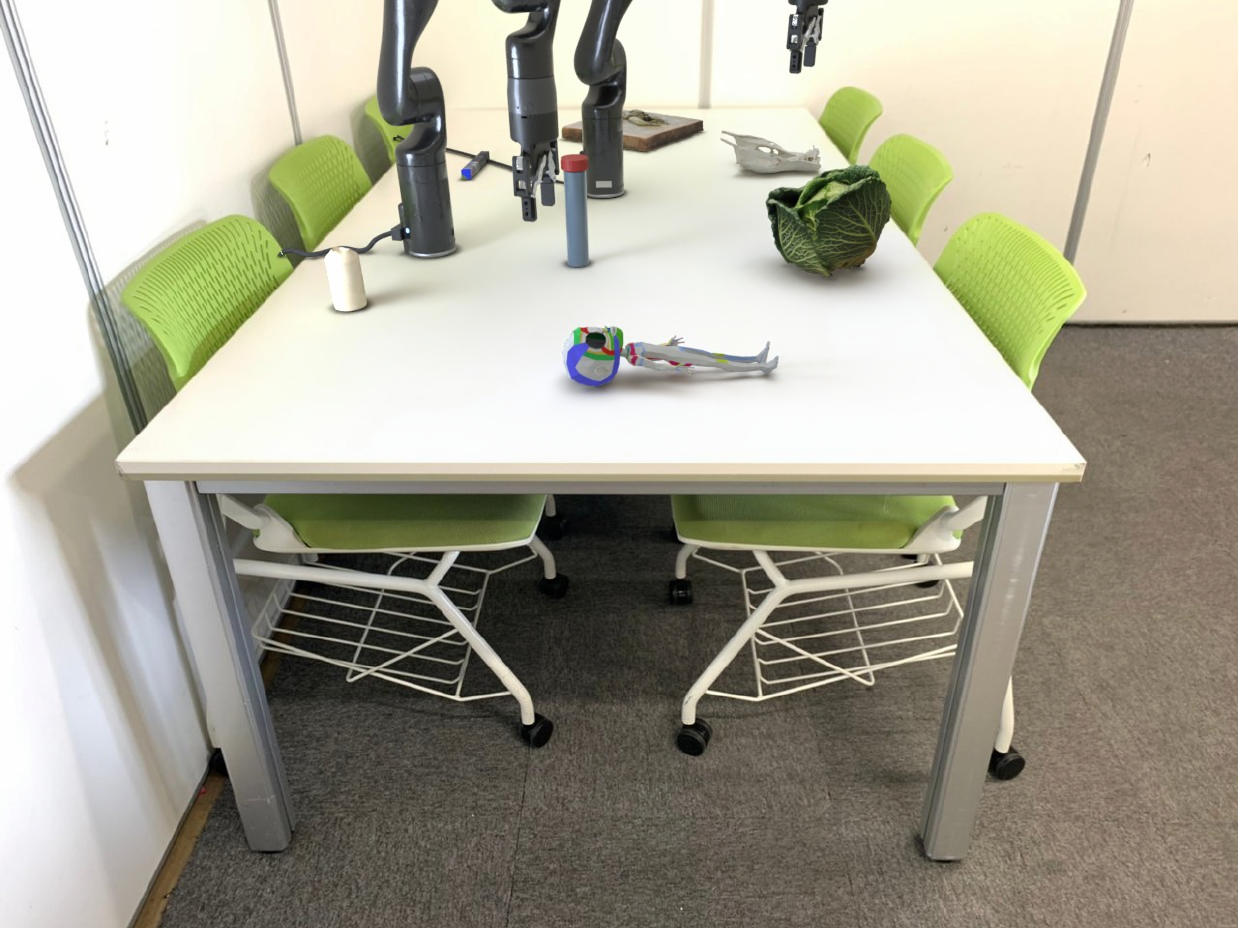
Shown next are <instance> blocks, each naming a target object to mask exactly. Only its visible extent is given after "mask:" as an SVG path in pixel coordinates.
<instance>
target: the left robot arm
mask: <svg viewBox="0 0 1238 928" xmlns="http://www.w3.org/2000/svg"><path fill="white" fill-rule="evenodd" d="M490 1H491V3H492V4H493V6H495V8H497V9H498V10H499V11H501V13H504V14H508V15H516V14H524V13H525V14H526V13H528V16H527V19H526V22H525V25H524V26H522V27H521V28H520V29H517V30H515V31H512V32H511V33H509V34H508V35H507V36H506V38H505V41H504V52H505V63H506V64H505V65H506V76H507V78H506V82H507V84H506V99H507V112H508V126H509V138H510V140H511V141H512V142H514V143H518V144H519V145H520V153H519V155H513V156H512V157H511V163H512V164H511V166H512V184H513V185H512V186H513V196H514V197H517V198H520V200H521V214H522V216H521V217H522V220H523V221H524V222H526V223H527V222H528V223H529V222H530V223H535V222H536V221H537V220H538V209H537V208H538V207H537V197H536V196H537V189H538V186H539V187H540V188H539V189H540V200H541V201H540V203H541V205H542V206H543V207H553V206H555V205H556V191H555V190H556V189H555V181H556V180H557V176H559V175H560V173H561V171H560V160H559V144H558V139H559V137H560V131H559V112H558V109H559V108H558V91H557V85H556V84H557V83H556V80H555V79H556V78H555V66H554V64H555V63H554V40H555V35H556V29H557V24H558V18H559V13H560V8H561V3H562V0H490ZM439 2H440V0H383V10H382V11H383V12H382V13H383V15H382V33H381V42H380V51H379V59H378V66H377V75H376V93H375V94H376V103H377V106H378V111H379V113H380V115H381V117H382V119H383V121H384V122H386V124H388V125H389V126H392V127H405V126H410V125H412V128H411V131H410V132H409V134H408V135H407V136H406V137H404V138H405V139H404V140H403V141H402V140H401V141H400V142H399V143H398V144H396V146H395V147H394V158H395V165H396V171H397V178H398V179H397V180H398V185H399V192H400V198H401V199H400V200H401V202H400V203H398V205H397V209H398V217H399V223H397V224H396V225H395V226H393V227H391V228H390V230H388V231H385V232H382V233H380V234H378V235H376V236H375V237H372V239H371V240H370V242H369V243H368V244H367V245H366V246H363V247H361V248H360V247H353V246H349V245H337V246H336V247H344V248H347V249H351V250H353V251H355V252H356V253H357V254H364V253H368V252H369V251H371V250H372V249H373V248H374V247H375V245H376V244H377V243H378V242H380V241H382V240H383V239H385V238H388V237H391V241H396V242H402V245H403V252H404V254H408V255H410V256H412V257H416V258H423V259H430V258H431V259H432V258H440V257H445V256H448V255H451V254H453V253H454V252H456V251H457V248H458V247H457V243H456V235H455V234H456V233H455V224H454V217H453V209H452V200H451V191H450V183H449V181H450V180H449V175H448V166H447V156H446V152H447V151H446V148H447V146H448V133H447V132H448V131H447V117H446V116H447V115H446V102H445V101H446V100H445V94H444V89H443V85H442V83H441V80H440V77H439V76H438V74H437V73H436V72H435V71H434V70H433V69H432V68H430V67H429V66H413V67H412V62H413V57H414V53H415V49H416V46H417V44H418V41H419V40H420V38H421V36H422V34H423V32H425V29H426V28H427V26H428V24H429V22H430V20H431V18H432V17H433V15H434V14H435V11H436V9H437V6H438V4H439ZM333 247H334V246H333ZM333 247H328V248H326V249H322V250H317V251H304V250H300V249H297V248H294V247H284V248H282V249H281V250H280V251H282V253H283V255H284V256H285V255H286V254H290V253H291V254H294V255H297V256H300V257H304V258H318V257H322V256H327V254H328V253H329V252H330V250H331V249H332V248H333ZM280 251H279V252H278V253H277V255H276V257H278V258H280V257H284V256H283V255H282V254H281V252H280Z"/></svg>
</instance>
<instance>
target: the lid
mask: <svg viewBox="0 0 1238 928" xmlns="http://www.w3.org/2000/svg"><path fill="white" fill-rule="evenodd" d="M560 169H561V171H567V172H580V171H584V170H587V169H588V157H587V156H586V155H581V154H579V153H570V154H564V155H562V156H561V157H560Z"/></svg>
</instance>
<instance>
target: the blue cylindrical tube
mask: <svg viewBox="0 0 1238 928" xmlns="http://www.w3.org/2000/svg"><path fill="white" fill-rule="evenodd" d="M562 171H563V170H562ZM562 173H563V182H564V184H563V188H564V189H563V194H564V213H565V214H564V215H565V217H564V218H565V235H566V236H565V237H566V238H565V239H566V257H567V258H566V259H567V265H568V266H569V267H572V268H583V267H587V266H589V264H590V248H589V247H590V246H589V217H588V213H589V212H588V196H587V183H586V170H584V171H580V172H567V171H563V172H562Z"/></svg>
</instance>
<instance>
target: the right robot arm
mask: <svg viewBox="0 0 1238 928" xmlns="http://www.w3.org/2000/svg"><path fill="white" fill-rule="evenodd" d="M633 1H634V0H591V2H590V6H589V10H588V12H587V16H586V19H585V21H584V25H583V28H582V31H581V33H580V35H579V38H578V42H577V44H576V47H575V50H574V54H573V69H574V72H575V75H576V77H577V79H578V80H579V82H581V83H582V84H583V85H586V86H589V87H588V91H587V93H586V96H585V97H584V99H583V100H582V103H581V109H580V112H581V121H582V140H583V142H582V150H580V151H579V153H578V154H581V155H586V156H587V157H588V169H587V170H586V183H587V197H589V198H595V199H612V198H617V197H620V196H622V195H624V193H625V188H624V186H625V183H624V181H625V180H624V175H625V174H624V173H625V172H624V148H623V110H624V107H625V103H626V99H627V82H628V81H627V79H628V78H627V76H628V61H627V54H626V50H625V47H624V45H623V43H622V42H621V41H620V39H618V38H617V35H618V31H619V27H620V25H621V22H622V20H623V18H624V16H625V14H626V13H627V11H628V10H629V7H630V6H631V4H632V3H633ZM787 3H788V4H789V5H790V6H796V9H795V13H790V14H789V16H788V26H787V35H786V45H785V47H786V50H788V51H789V53H790V57H789V69H788V71H789V73H790V74H793V75H799V74H801V73H802V68H803V67H805V68H813V67H815V65H816V57H817V48H818V46H819V43H820V42H821V41H822V39H823V25H824V13H825V8H824V7H821V6H825V5H827V4H829V0H787ZM802 65H803V66H802ZM396 135H397V137H394V136H392V139H393V140H392V141H396V140H397V139H399V140H400V141H401V142H402V141H403V140H404V139H405V138H406V137H403V136H401V135H400V134H396ZM445 152H450V153H453V154H454V153H455V154H457V155H460V156H461V155H462V156H466V157H468V158H472V159H473V158H474V157H475V156H477V155H478V154H472V153H469V152H465V151H461V150H457V149H454V148H450V147H446V151H445ZM487 163H489V164H492V165H496V166H499V167H501V168H506V169H509V170H512V165H509V164H506V163H503V162H500V161H496V160H494V159H491V158H490V159H487ZM512 171H513V170H512ZM554 184H562V185H564V180H563V181H562V180H559V179H556V181H555V182H554Z"/></svg>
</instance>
